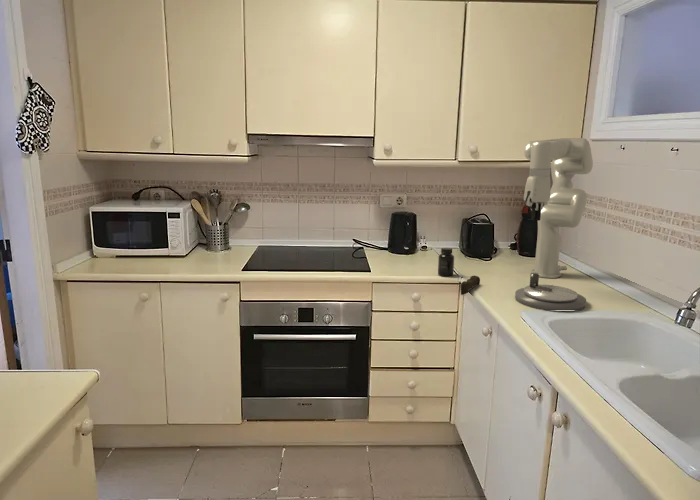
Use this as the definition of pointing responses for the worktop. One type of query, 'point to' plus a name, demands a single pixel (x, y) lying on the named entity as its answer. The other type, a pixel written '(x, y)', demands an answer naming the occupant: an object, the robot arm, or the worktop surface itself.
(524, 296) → the dial base
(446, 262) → the supplement bottle
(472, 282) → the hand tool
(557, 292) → the dial
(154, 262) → the worktop surface
